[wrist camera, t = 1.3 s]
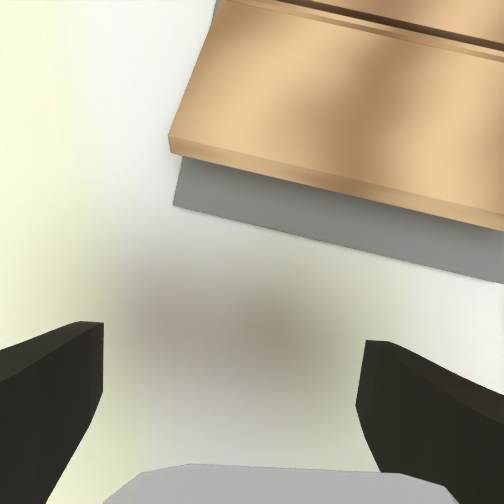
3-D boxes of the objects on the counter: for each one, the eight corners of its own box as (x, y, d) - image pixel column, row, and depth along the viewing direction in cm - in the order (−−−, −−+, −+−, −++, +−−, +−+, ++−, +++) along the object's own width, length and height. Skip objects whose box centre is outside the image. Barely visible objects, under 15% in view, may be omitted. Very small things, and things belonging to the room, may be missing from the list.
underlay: (572, 28, 19) (588, 18, 18) (494, 280, 20) (505, 284, 20) (231, -47, 20) (229, -61, 19) (177, 205, 21) (172, 205, 20)
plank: (556, 86, 18) (575, 67, 17) (570, 247, 15) (593, 235, 14) (225, 11, 19) (224, -12, 18) (170, 153, 16) (167, 135, 15)
